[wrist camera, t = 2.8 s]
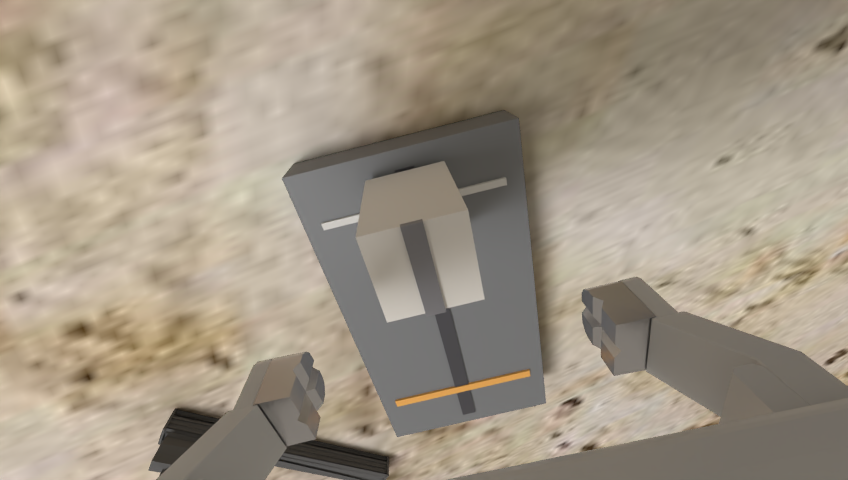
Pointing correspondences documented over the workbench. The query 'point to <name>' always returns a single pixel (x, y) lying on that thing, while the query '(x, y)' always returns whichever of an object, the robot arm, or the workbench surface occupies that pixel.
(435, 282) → the fader cap
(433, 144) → the slider console
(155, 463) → the dark grey bar
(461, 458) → the workbench surface
